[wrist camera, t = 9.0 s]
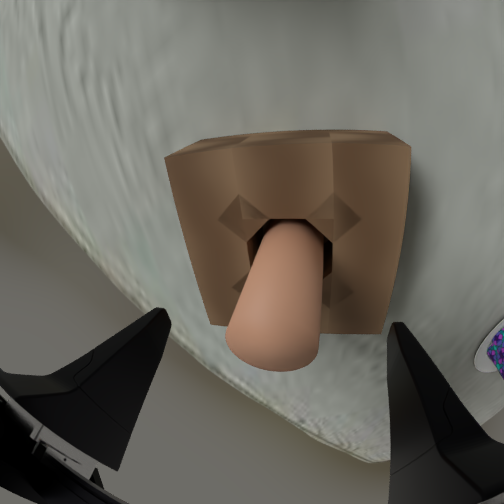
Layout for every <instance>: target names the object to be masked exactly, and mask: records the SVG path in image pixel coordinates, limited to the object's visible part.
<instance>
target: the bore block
mask: <svg viewBox="0 0 504 504" xmlns="http://www.w3.org/2000/svg"><path fill="white" fill-rule="evenodd" d="M164 159H165V163H166V168H167V172H168V176H169V181H170V185H171V189H172V193H173V197H174V201H175V205H176V209H177V213H178V217H179V220H180V224H181V228H182V232H183V235H184V239H185V243H186V246H187V250H188V253H189V257H190V260H191V264H192V267H193V270H194V274H195V277H196V280H197V284H198V287H199V290H200V293H201V296H202V300H203V303H204V306H205V309H206V312H207V315H208V318H209V321H210V324H211V325H219V326H228V325H229V322H230V320H231V317H232V315H233V312H234V310H235V307H236V305H237V302H238V300H239V297H240V295H241V292H242V290H243V287H244V285H245V282H246V280H247V277H248V275H249V272H250V270H251V267H252V265H253V262H254V260H255V257H256V254H257V252H258V249H259V247H260V244H261V242H262V239H263V237H264V234H265V232H266V229H267V227H268V224H269V221H270V219H306V220H307V221H309V222H310V223H311V224H312V225H313V226H314V227H315V228H316V229H318V230H319V231H320V232H321V233H322V234H323V235H324V249H323V285H322V306H321V322H320V333H327V334H381V332H382V329H383V325H384V322H385V318H386V315H387V311H388V307H389V303H390V299H391V295H392V291H393V287H394V282H395V278H396V273H397V268H398V263H399V258H400V252H401V246H402V240H403V234H404V227H405V220H406V212H407V203H408V193H409V181H410V165H411V146H409V145H408V144H406V143H405V142H403V141H402V140H400V139H398V138H397V137H395V136H394V135H392V134H390V133H389V132H386V131H368V130H298V131H279V132H265V133H253V134H243V135H234V136H226V137H218V138H211V139H204V140H200V141H198V142H196V143H193V144H191V145H189V146H187V147H185V148H183V149H181V150H179V151H177V152H175V153H173V154H171V155H169V156H167V157H165V158H164Z"/></svg>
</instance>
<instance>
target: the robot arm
mask: <svg viewBox="0 0 504 504" xmlns="http://www.w3.org/2000/svg"><path fill="white" fill-rule="evenodd" d="M170 329H171V320H170V318H169V316H168V313H167V311H166V309H164V308H159V307H156V308H154V309H153V310H151V311H150V312H148V313H147V314H145V315H144V316H142V317H141V318H139V319H138V320H136V321H135V322H133V323H132V324H130V325H129V326H127V327H126V328H124V329H123V330H121V331H120V332H118V333H117V334H115V335H114V336H112V337H111V338H109V339H108V340H106V341H105V342H103V343H102V344H100V345H99V346H97V347H96V348H95V349H93V350H91V351H90V352H88V353H87V354H85V355H84V356H82V357H80V358H79V359H77V360H75V361H74V362H72V363H70V364H68V365H66V366H65V367H63V368H61V369H59V370H58V371H56V372H54V373H52V374H49V375H45V376H35V375H21V374H11V373H6V372H4V371H3V370H2V369H1V368H0V386H1V387H2V388H3V389H4V390H5V392H6V393H7V394H8V395H9V396H10V398H9V400H8V401H7V400H6V399H5V398H4V397H2V396H1V395H0V486H1V487H3V488H5V489H7V490H8V491H10V492H12V493H15V494H17V495H19V496H21V497H23V498H26V499H28V500H30V501H33V502H35V503H37V504H128V503H127V502H125V501H123V500H121V499H119V498H117V497H115V496H114V495H112V494H111V493H109V492H107V491H105V490H104V488H103V484H102V481H101V478H100V475H99V472H98V469H97V468H96V465H97V463H98V462H100V463H102V464H104V465H106V466H108V467H110V468H111V469H114V470H115V471H118V469H119V467H120V464H121V461H122V458H123V456H124V453H125V450H126V448H127V445H128V442H129V439H130V437H131V434H132V431H133V428H134V426H135V423H136V421H137V418H138V415H139V413H140V410H141V408H142V405H143V402H144V400H145V397H146V395H147V392H148V390H149V387H150V385H151V382H152V380H153V377H154V375H155V373H156V370H157V368H158V365H159V363H160V361H161V358H162V355H163V352H164V349H165V345H166V342H167V338H168V336H169V332H170ZM387 385H388V397H389V412H390V439H391V463H390V464H391V465H390V475H391V476H390V486H389V500H388V504H504V444H503V443H500V442H497V441H495V440H494V439H492V438H491V437H490V436H488V435H487V433H486V432H485V431H484V430H483V429H482V427H481V426H480V425H479V424H478V422H477V421H476V420H475V419H474V417H473V416H472V415H471V414H470V413H469V411H468V410H467V409H466V407H465V406H464V405H463V404H462V402H461V401H460V399H459V398H458V396H457V395H456V394H455V392H454V391H453V389H452V388H451V387H450V385H449V383H448V382H447V381H446V379H445V378H444V376H443V375H442V373H441V372H440V371H439V369H438V368H437V366H436V365H435V364H434V362H433V361H432V359H431V358H430V357H429V355H428V354H427V353H426V351H425V350H424V349H423V347H422V346H421V345H420V343H419V342H418V341H417V339H416V338H415V337H414V335H413V334H412V333H411V331H410V330H409V329H408V328H407V326H406V325H405V324H404V323H403V322H393V323H392V325H391V328H390V331H389V334H388V337H387Z"/></svg>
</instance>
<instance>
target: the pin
mask: <svg viewBox="0 0 504 504" xmlns="http://www.w3.org/2000/svg"><path fill="white" fill-rule="evenodd" d="M323 249H324V235H323V234H322V233H321V232H320V231H319V230H318V229H316V228H315V227H314V226H313V225H312V224H311V223H310V222H309V221H307V220H306V219H270V221H269V224H268V227H267V229H266V232H265V234H264V237H263V239H262V242H261V244H260V247H259V249H258V252H257V254H256V257H255V260H254V262H253V265H252V267H251V270H250V272H249V275H248V277H247V280H246V282H245V285H244V287H243V290H242V292H241V295H240V297H239V300H238V302H237V305H236V307H235V310H234V312H233V315H232V317H231V320H230V322H229V325H228V327H227V330H226V334H225V338H226V342H227V345H228V347H229V348H230V350H231V351H232V352H233V353H234V354H235V355H236V356H237V357H238V358H239V359H241V360H242V361H244V362H246V363H247V364H249V365H252V366H254V367H257V368H260V369H263V370H268V371H278V372H285V371H293V370H297V369H300V368H303V367H305V366H307V365H308V364H310V363H311V362H312V361H313V360H314V359H315V357H316V356H317V353H318V348H319V336H320V322H321V306H322V285H323Z"/></svg>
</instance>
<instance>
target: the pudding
mask: <svg viewBox="0 0 504 504" xmlns="http://www.w3.org/2000/svg"><path fill="white" fill-rule="evenodd" d="M503 326H504V319H503V320H502V321H501V322H500V323H499V324H498V325H497V326H496V327H495V328H494V329H493V330H492V331H491V332H490V333H489V335H488V336H487V337H486V338H485V340H484V341H483V342H482V344H481V345H480V347H479V349H478V351H477V353H476V355H475V359H474V365H475V367H476V369H477V370H478V371H481V372H494V371H499V373H500V374H501V376H502V377H503V379H504V328H503V329H502V330H500V329H501V328H502V327H503ZM499 330H500V331H499ZM498 331H499V332H498ZM497 332H498V333H497ZM496 333H497V334H496ZM495 334H496V335H495ZM493 337H494V338H493ZM492 338H493V340H492ZM491 340H492V343H493V344H492V345H491V346H490V347H489V348H488V345H489V343H490V341H491ZM487 348H488V350H487ZM486 352H487V353H486ZM487 354H488V356H489V357H490V359H489V358H488V357H487Z"/></svg>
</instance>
